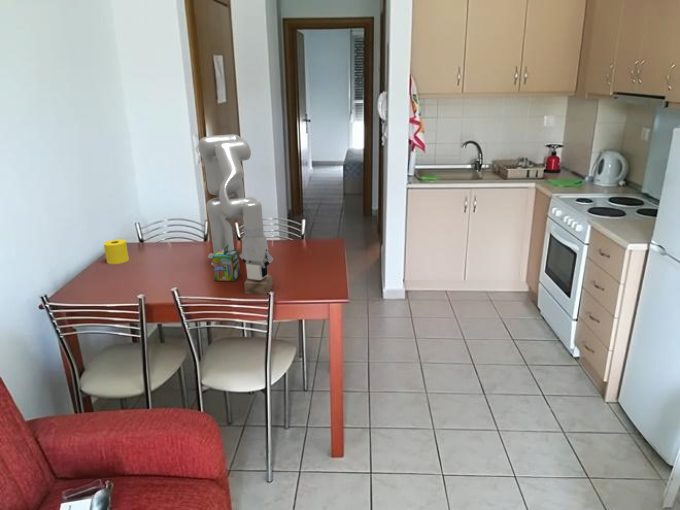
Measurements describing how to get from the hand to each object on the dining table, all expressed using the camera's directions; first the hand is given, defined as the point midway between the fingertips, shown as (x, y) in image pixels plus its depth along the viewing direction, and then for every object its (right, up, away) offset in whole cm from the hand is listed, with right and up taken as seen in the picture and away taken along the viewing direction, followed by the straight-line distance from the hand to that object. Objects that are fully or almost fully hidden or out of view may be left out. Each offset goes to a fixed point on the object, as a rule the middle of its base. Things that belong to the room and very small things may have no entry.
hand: (257, 274), depth 214 cm
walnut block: (0, -7, +2) cm, 7 cm away
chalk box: (-16, -2, +17) cm, 23 cm away
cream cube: (0, -1, 0) cm, 1 cm away
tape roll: (-75, +5, +45) cm, 88 cm away
